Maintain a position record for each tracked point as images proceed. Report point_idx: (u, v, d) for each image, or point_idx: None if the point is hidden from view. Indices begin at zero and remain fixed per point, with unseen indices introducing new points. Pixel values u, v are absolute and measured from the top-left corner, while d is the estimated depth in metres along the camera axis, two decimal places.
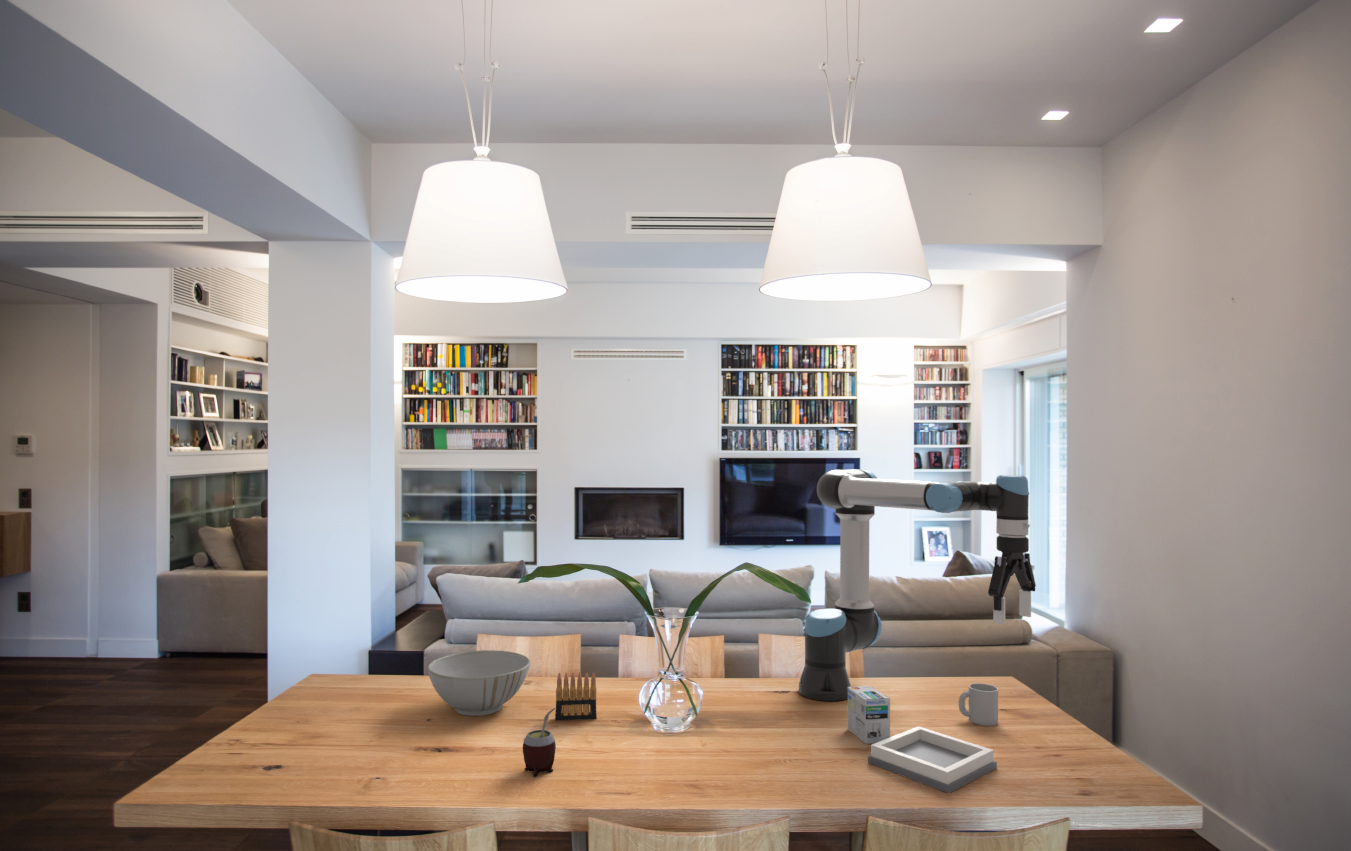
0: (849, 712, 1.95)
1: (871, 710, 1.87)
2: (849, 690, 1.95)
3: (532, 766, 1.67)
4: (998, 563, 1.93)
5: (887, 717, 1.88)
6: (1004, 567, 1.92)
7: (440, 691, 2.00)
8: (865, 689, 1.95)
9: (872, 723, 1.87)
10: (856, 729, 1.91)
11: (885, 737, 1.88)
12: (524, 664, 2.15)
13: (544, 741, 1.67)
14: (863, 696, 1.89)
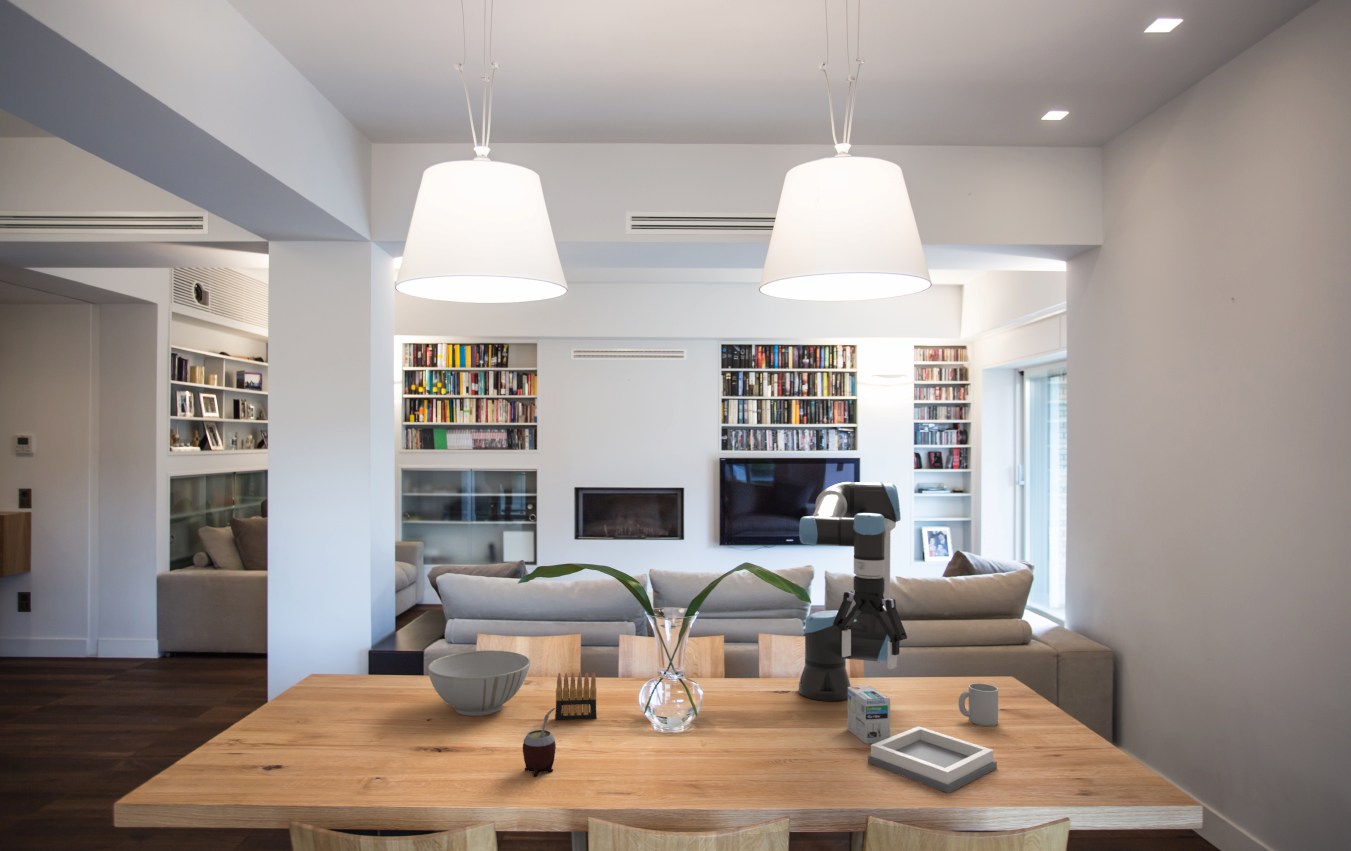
0: (849, 712, 1.95)
1: (871, 710, 1.87)
2: (849, 690, 1.95)
3: (532, 766, 1.67)
4: None
5: (887, 717, 1.88)
6: (844, 601, 1.97)
7: (440, 691, 2.00)
8: (865, 689, 1.95)
9: (872, 723, 1.87)
10: (856, 729, 1.91)
11: (885, 737, 1.88)
12: (524, 664, 2.15)
13: (544, 741, 1.67)
14: (863, 696, 1.89)
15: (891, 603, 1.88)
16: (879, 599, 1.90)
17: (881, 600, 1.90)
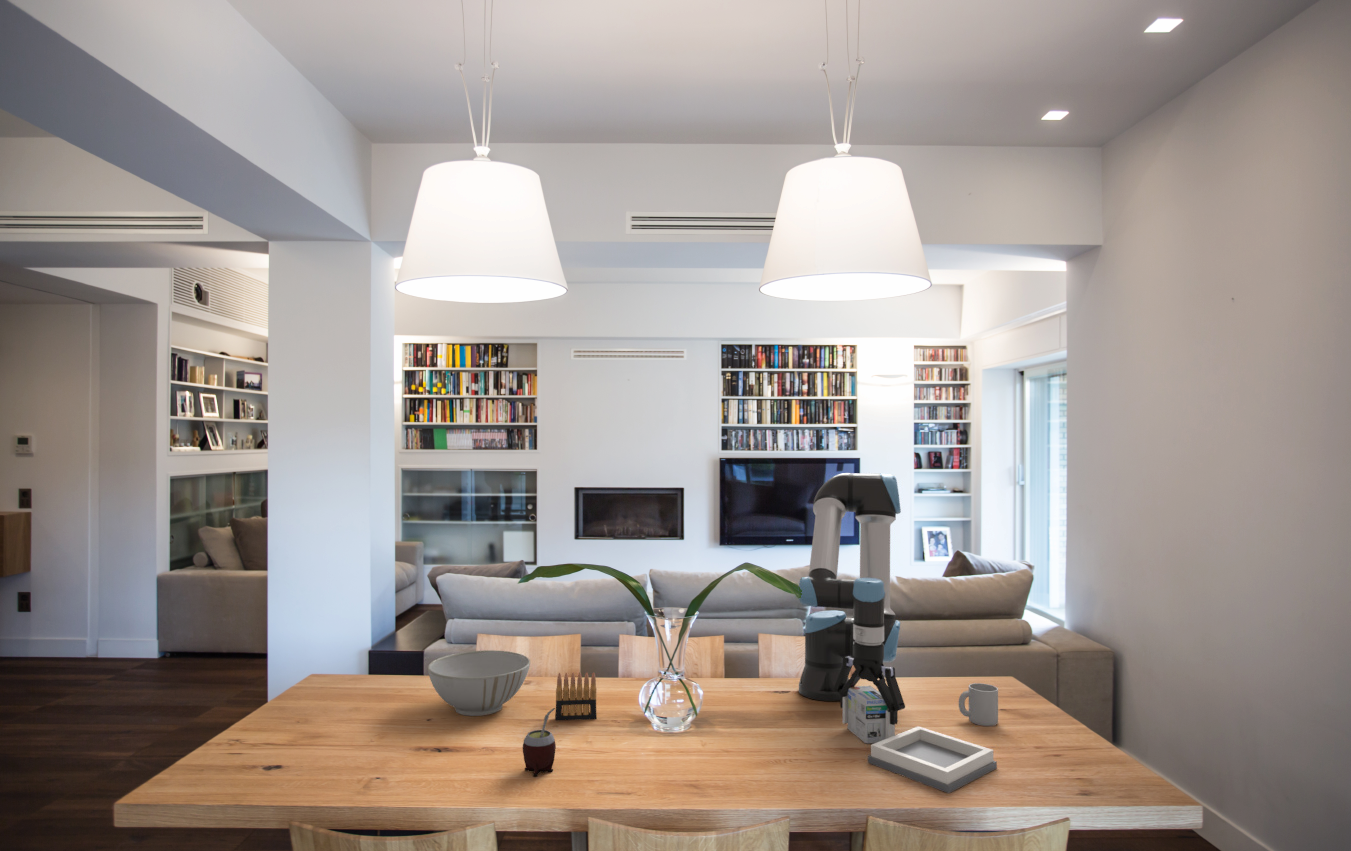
0: (849, 712, 1.95)
1: (871, 710, 1.87)
2: (849, 690, 1.95)
3: (532, 766, 1.67)
4: None
5: None
6: (844, 667, 1.97)
7: (440, 691, 2.00)
8: (865, 689, 1.95)
9: (872, 723, 1.87)
10: (856, 729, 1.91)
11: (885, 737, 1.88)
12: (524, 664, 2.15)
13: (544, 741, 1.67)
14: (863, 696, 1.89)
15: (890, 672, 1.87)
16: (879, 666, 1.89)
17: (881, 668, 1.89)
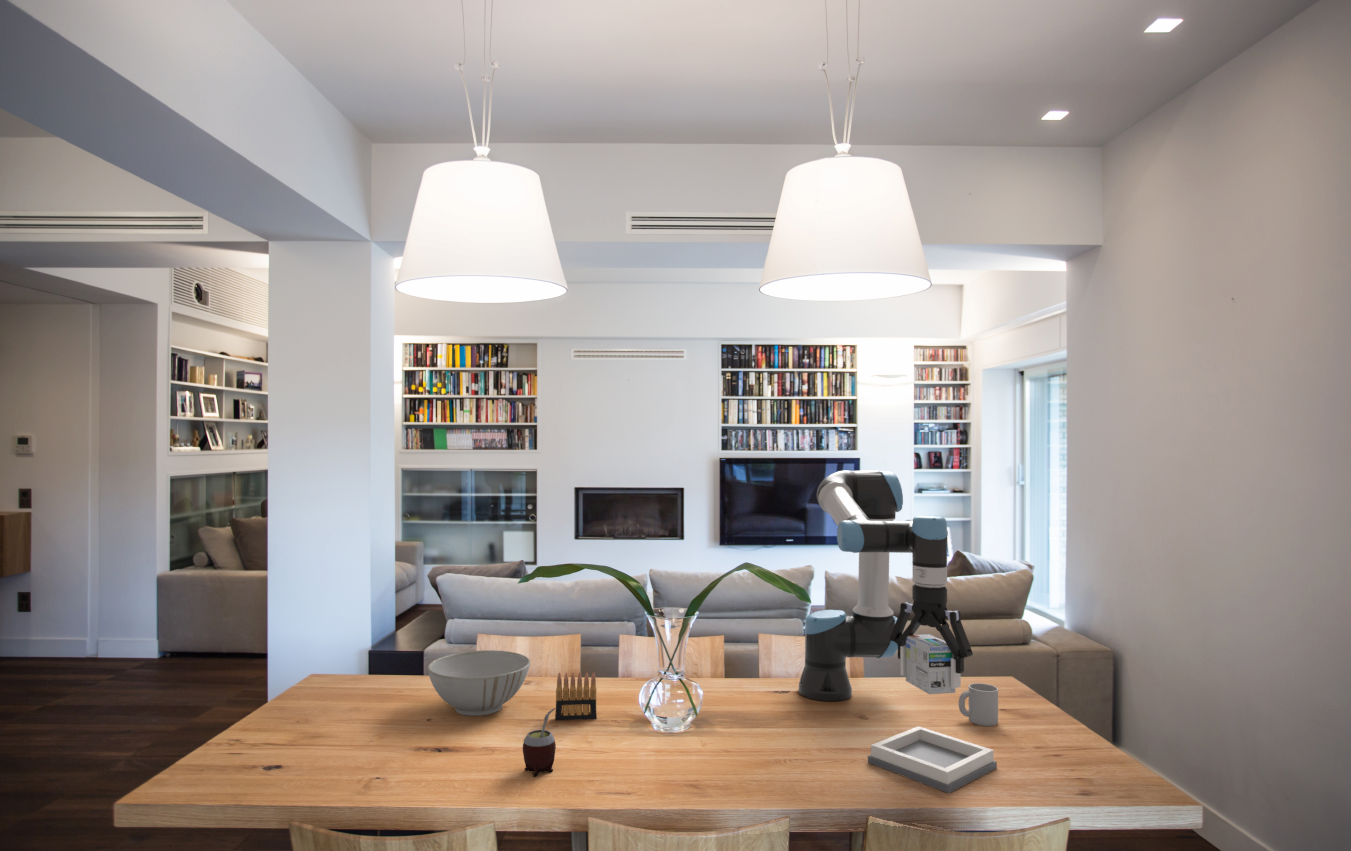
0: (908, 662, 1.78)
1: (934, 657, 1.70)
2: (907, 638, 1.79)
3: (532, 766, 1.67)
4: None
5: None
6: (901, 613, 1.80)
7: (440, 691, 2.00)
8: (925, 637, 1.78)
9: (935, 672, 1.70)
10: (917, 680, 1.74)
11: (950, 688, 1.70)
12: (524, 664, 2.15)
13: (544, 741, 1.67)
14: (925, 643, 1.72)
15: (956, 616, 1.70)
16: (942, 610, 1.72)
17: (944, 612, 1.72)
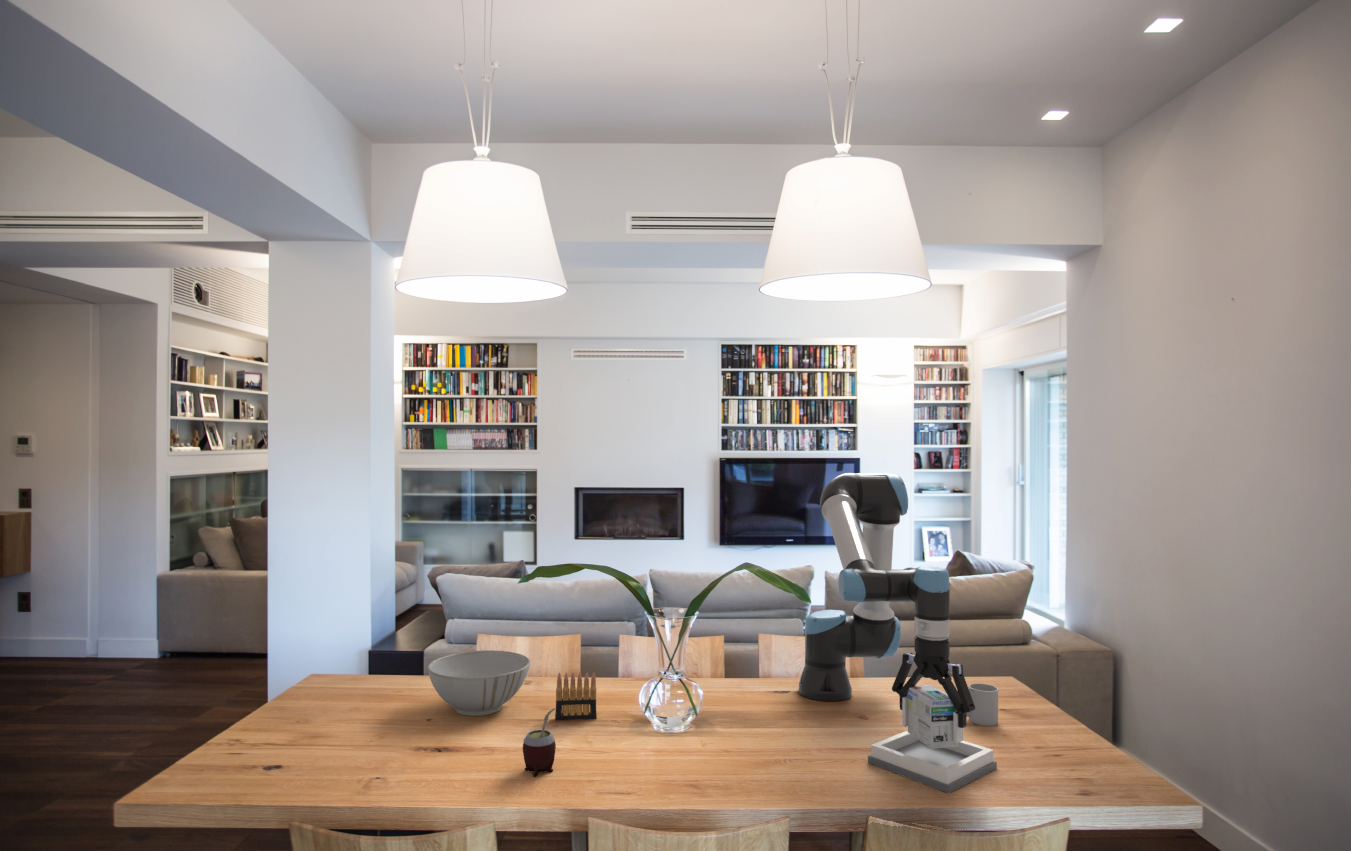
0: (910, 714, 1.78)
1: (937, 712, 1.69)
2: (910, 689, 1.78)
3: (532, 766, 1.67)
4: None
5: None
6: (903, 664, 1.79)
7: (440, 691, 2.00)
8: (927, 688, 1.77)
9: (938, 726, 1.69)
10: (919, 733, 1.74)
11: (952, 742, 1.70)
12: (524, 664, 2.15)
13: (544, 741, 1.67)
14: (927, 696, 1.71)
15: (958, 670, 1.70)
16: (945, 664, 1.72)
17: (947, 665, 1.71)
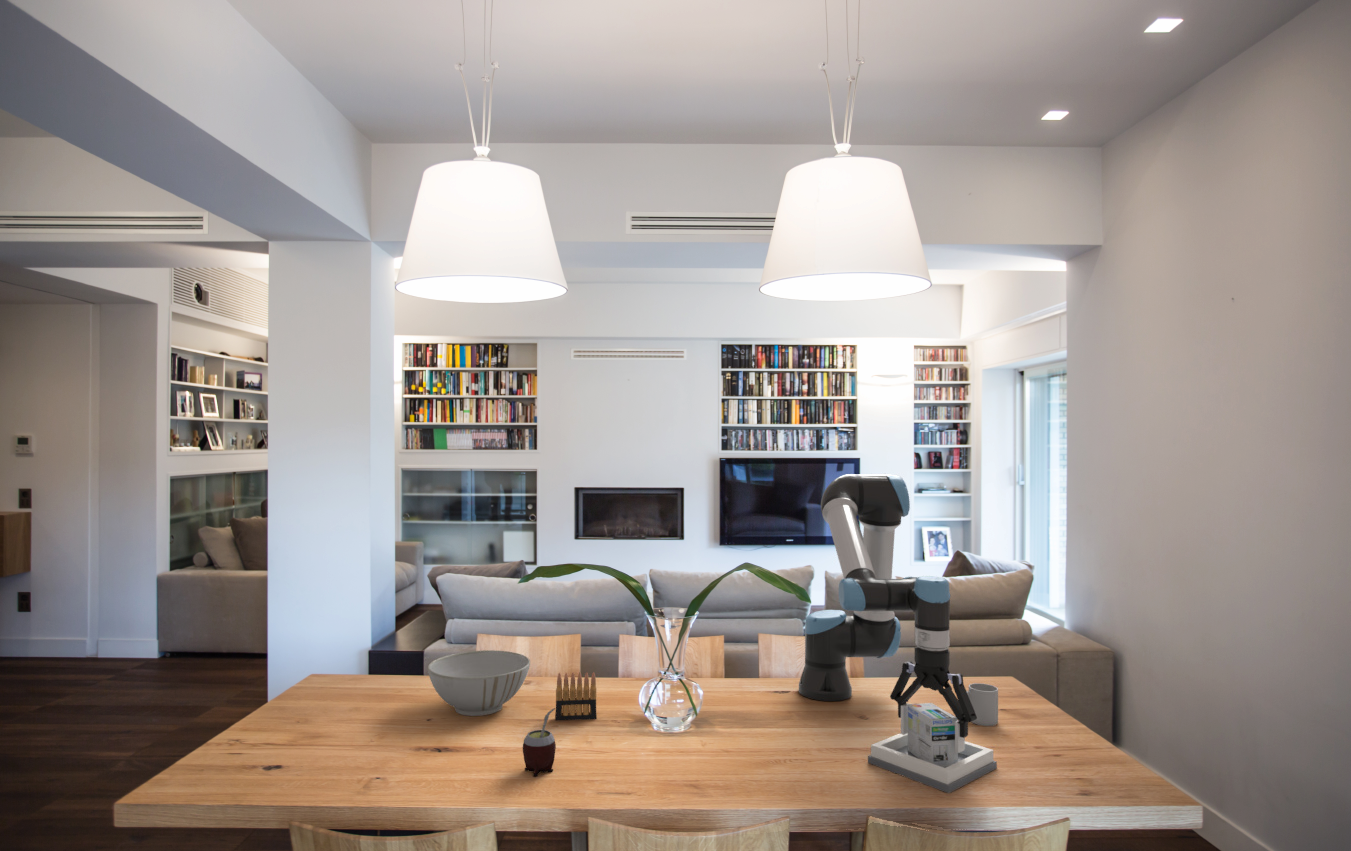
0: (910, 732, 1.78)
1: (937, 731, 1.69)
2: (910, 708, 1.78)
3: (532, 766, 1.67)
4: None
5: None
6: (903, 673, 1.79)
7: (440, 691, 2.00)
8: (928, 707, 1.77)
9: (938, 746, 1.69)
10: (919, 752, 1.74)
11: (952, 761, 1.70)
12: (524, 664, 2.15)
13: (544, 741, 1.67)
14: (927, 715, 1.71)
15: (958, 679, 1.69)
16: (944, 674, 1.72)
17: (947, 675, 1.71)
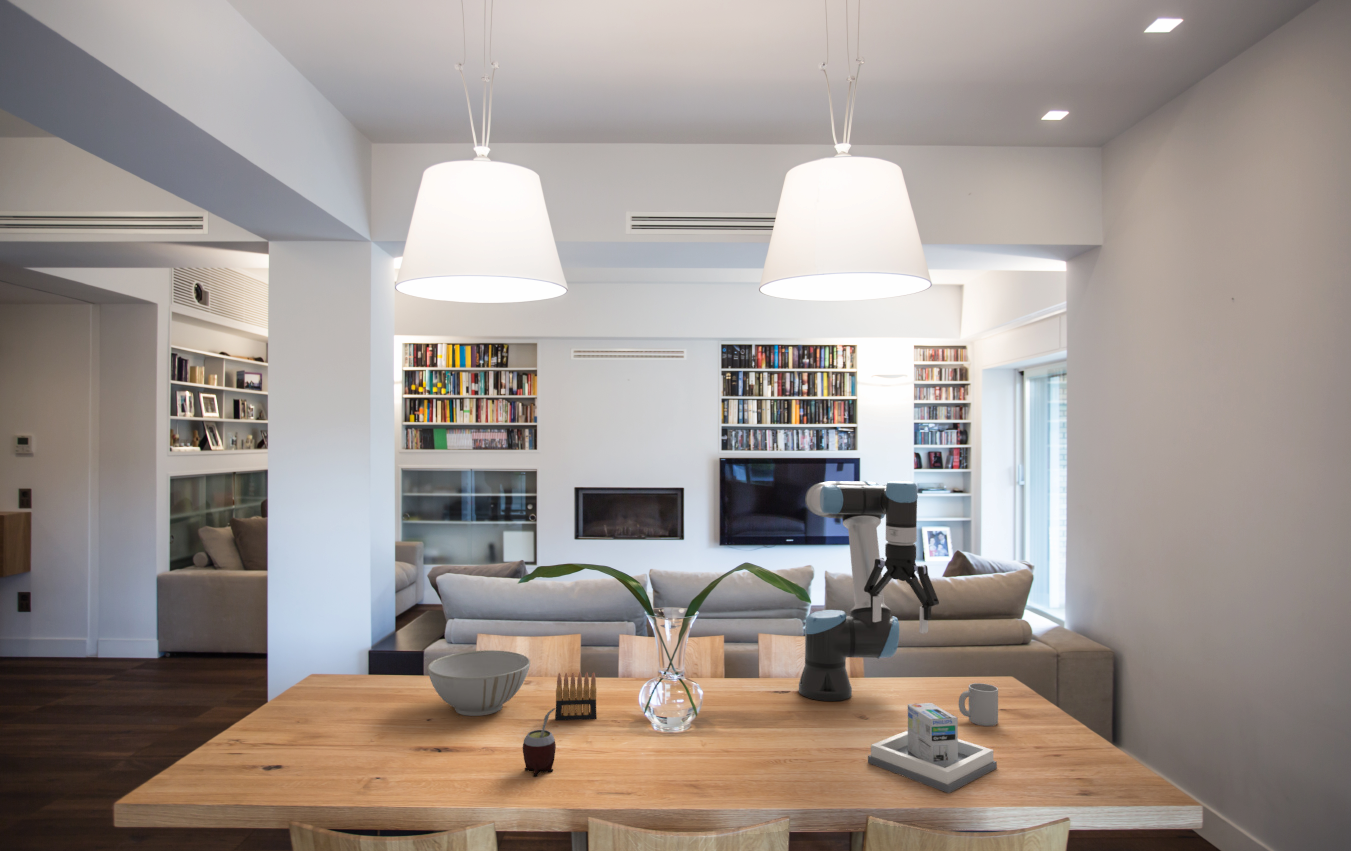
0: (910, 732, 1.78)
1: (937, 731, 1.69)
2: (910, 708, 1.78)
3: (532, 766, 1.67)
4: None
5: (955, 738, 1.70)
6: (875, 568, 2.00)
7: (440, 691, 2.00)
8: (928, 707, 1.77)
9: (938, 746, 1.69)
10: (919, 752, 1.74)
11: (952, 761, 1.70)
12: (524, 664, 2.15)
13: (544, 741, 1.67)
14: (927, 715, 1.71)
15: (923, 569, 1.90)
16: (911, 566, 1.92)
17: (913, 566, 1.92)
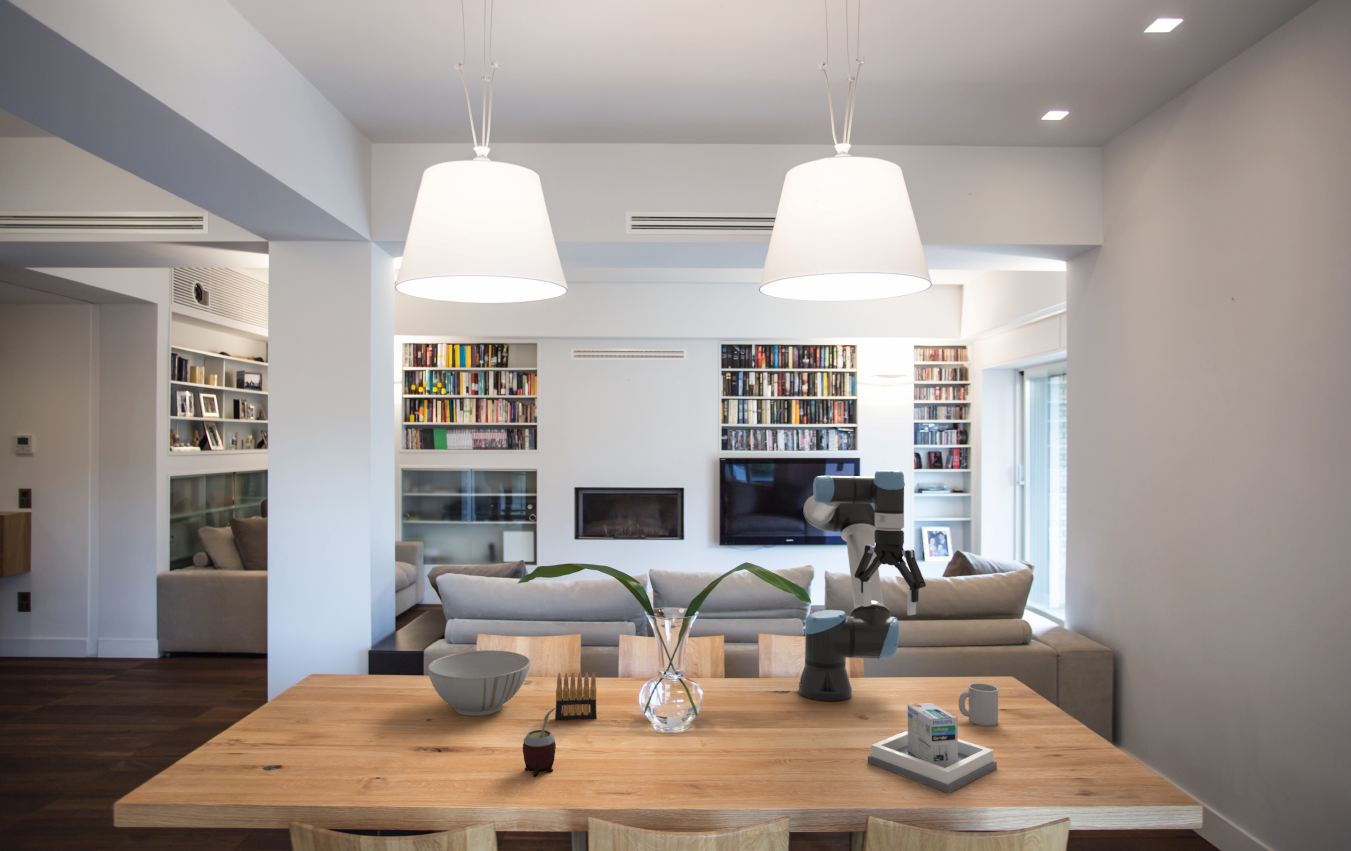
0: (910, 732, 1.78)
1: (937, 731, 1.69)
2: (910, 708, 1.78)
3: (532, 766, 1.67)
4: None
5: (955, 738, 1.70)
6: (865, 554, 2.08)
7: (440, 691, 2.00)
8: (928, 707, 1.77)
9: (938, 746, 1.69)
10: (919, 752, 1.74)
11: (952, 761, 1.70)
12: (524, 664, 2.15)
13: (544, 741, 1.67)
14: (927, 715, 1.71)
15: (910, 553, 1.99)
16: (899, 550, 2.01)
17: (901, 551, 2.01)
